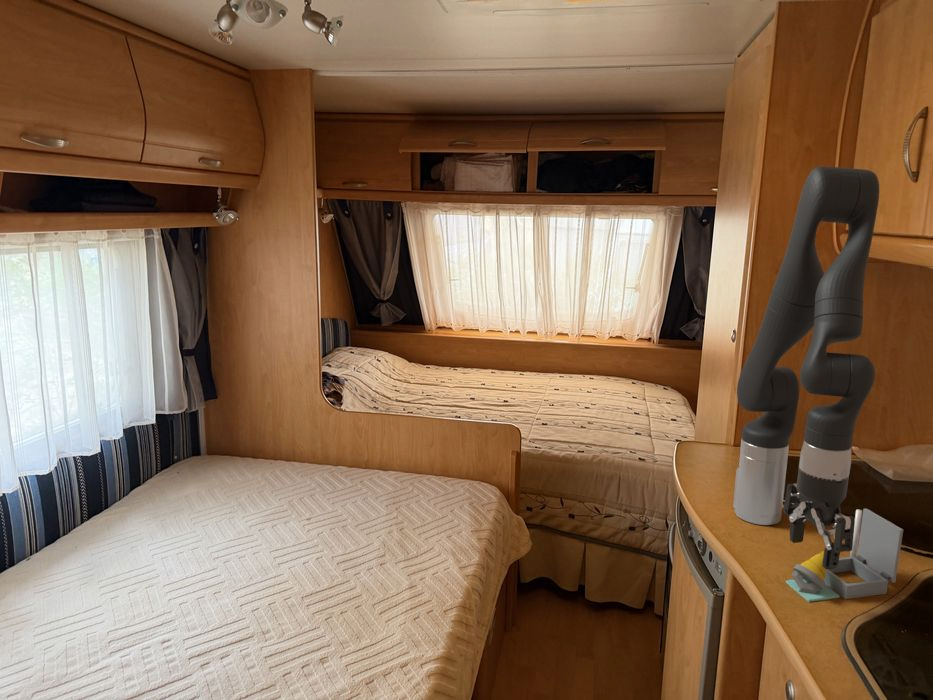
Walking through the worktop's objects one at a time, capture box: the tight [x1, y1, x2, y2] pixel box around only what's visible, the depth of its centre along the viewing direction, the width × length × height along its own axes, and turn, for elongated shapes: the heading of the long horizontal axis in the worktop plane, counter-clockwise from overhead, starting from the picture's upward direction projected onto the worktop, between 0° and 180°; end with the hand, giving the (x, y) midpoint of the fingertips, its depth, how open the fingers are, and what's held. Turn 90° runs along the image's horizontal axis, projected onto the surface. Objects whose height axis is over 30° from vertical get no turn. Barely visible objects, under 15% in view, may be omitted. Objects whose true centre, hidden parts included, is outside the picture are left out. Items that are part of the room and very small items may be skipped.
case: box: [824, 507, 904, 600], centre depth 118 cm, size 10×10×12 cm
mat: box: [785, 578, 840, 603], centre depth 116 cm, size 6×6×1 cm
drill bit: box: [791, 549, 827, 594], centre depth 116 cm, size 5×5×10 cm
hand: (812, 554), depth 115 cm, fingers open, 8 cm apart
